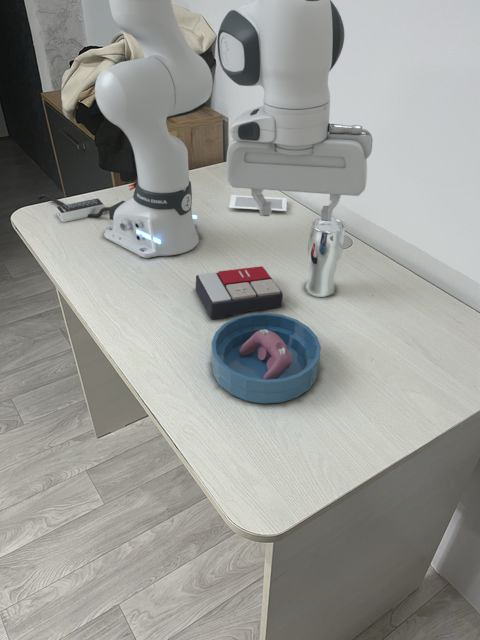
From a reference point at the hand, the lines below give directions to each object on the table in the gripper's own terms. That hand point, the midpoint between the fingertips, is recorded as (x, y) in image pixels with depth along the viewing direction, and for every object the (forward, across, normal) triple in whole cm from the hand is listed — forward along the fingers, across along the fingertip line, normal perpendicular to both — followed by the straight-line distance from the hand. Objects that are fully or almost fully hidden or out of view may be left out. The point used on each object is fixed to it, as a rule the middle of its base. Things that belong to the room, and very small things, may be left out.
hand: (295, 217), depth 82 cm
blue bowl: (+26, +4, +6) cm, 27 cm away
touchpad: (+25, +21, -56) cm, 65 cm away
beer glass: (+27, -1, -21) cm, 34 cm away
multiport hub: (+22, +62, -37) cm, 76 cm away
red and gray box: (+25, +14, -13) cm, 32 cm away
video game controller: (+26, +4, +6) cm, 27 cm away
